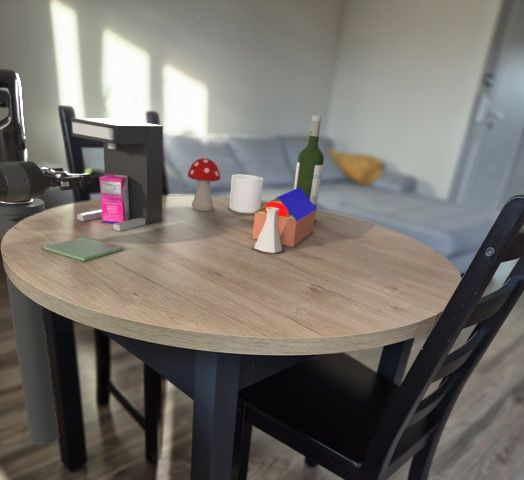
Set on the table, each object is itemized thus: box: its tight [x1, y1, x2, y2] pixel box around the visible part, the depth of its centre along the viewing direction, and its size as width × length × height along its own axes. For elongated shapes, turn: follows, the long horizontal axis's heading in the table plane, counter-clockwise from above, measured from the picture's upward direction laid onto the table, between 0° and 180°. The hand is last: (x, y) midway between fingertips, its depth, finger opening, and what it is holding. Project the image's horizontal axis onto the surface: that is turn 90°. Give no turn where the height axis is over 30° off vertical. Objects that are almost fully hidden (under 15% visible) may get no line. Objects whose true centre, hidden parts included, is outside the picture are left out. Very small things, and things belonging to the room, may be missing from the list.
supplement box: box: [98, 174, 130, 224], centre depth 124 cm, size 6×6×12 cm
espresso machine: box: [69, 117, 164, 232], centre depth 123 cm, size 14×18×24 cm
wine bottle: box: [293, 114, 325, 220], centre depth 147 cm, size 8×8×30 cm
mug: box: [228, 173, 264, 215], centre depth 156 cm, size 13×10×10 cm
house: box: [251, 187, 318, 248], centre depth 131 cm, size 12×20×12 cm, turn 160°
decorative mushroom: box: [187, 157, 221, 212], centre depth 148 cm, size 10×9×15 cm
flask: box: [253, 207, 283, 254], centre depth 117 cm, size 7×7×10 cm
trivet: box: [43, 236, 122, 262], centre depth 104 cm, size 11×11×1 cm
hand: (76, 175), depth 111 cm, fingers open, 8 cm apart
